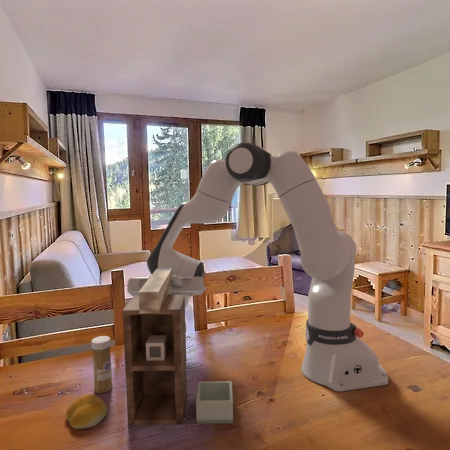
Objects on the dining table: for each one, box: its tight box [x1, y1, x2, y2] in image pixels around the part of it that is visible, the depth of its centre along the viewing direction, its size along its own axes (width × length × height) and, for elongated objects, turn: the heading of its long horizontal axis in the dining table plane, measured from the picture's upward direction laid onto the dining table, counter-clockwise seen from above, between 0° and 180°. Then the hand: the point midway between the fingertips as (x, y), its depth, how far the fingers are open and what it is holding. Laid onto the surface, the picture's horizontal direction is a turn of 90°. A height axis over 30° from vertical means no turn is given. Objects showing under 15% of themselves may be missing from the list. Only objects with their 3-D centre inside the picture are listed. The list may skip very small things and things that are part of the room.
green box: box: [195, 380, 234, 425], centre depth 79 cm, size 8×8×5 cm
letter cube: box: [146, 335, 167, 361], centre depth 78 cm, size 4×4×4 cm
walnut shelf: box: [122, 295, 188, 426], centre depth 79 cm, size 12×10×26 cm
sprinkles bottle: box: [90, 335, 113, 394], centre depth 88 cm, size 5×5×14 cm
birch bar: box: [139, 268, 173, 314], centre depth 80 cm, size 4×20×4 cm, turn 1°
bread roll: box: [65, 394, 108, 430], centre depth 78 cm, size 8×9×4 cm
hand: (162, 278), depth 86 cm, fingers closed on birch bar, 4 cm apart
